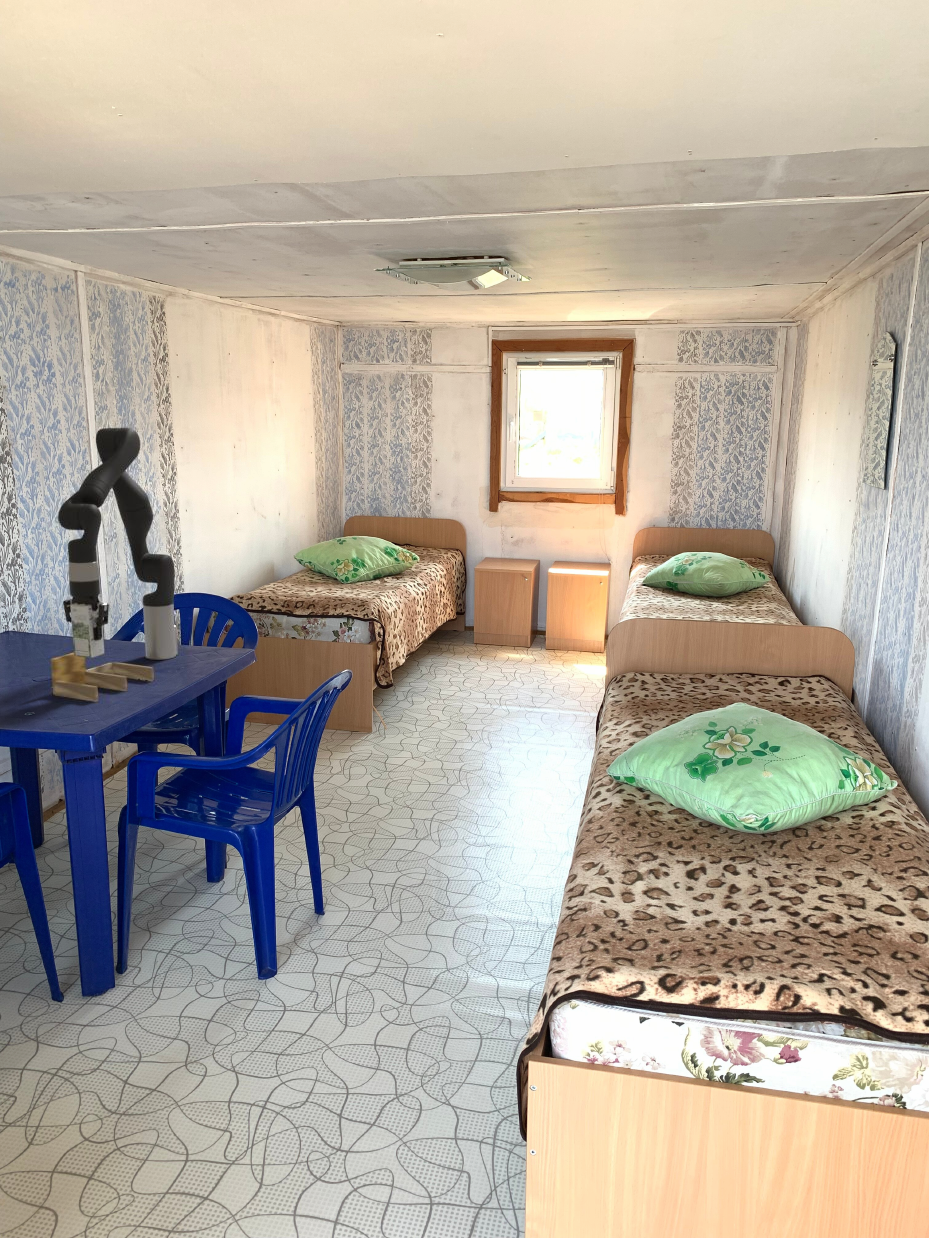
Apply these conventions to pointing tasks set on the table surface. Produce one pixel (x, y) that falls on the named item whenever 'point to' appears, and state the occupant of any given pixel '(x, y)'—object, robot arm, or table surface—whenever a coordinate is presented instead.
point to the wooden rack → (92, 677)
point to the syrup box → (85, 632)
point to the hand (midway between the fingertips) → (88, 638)
